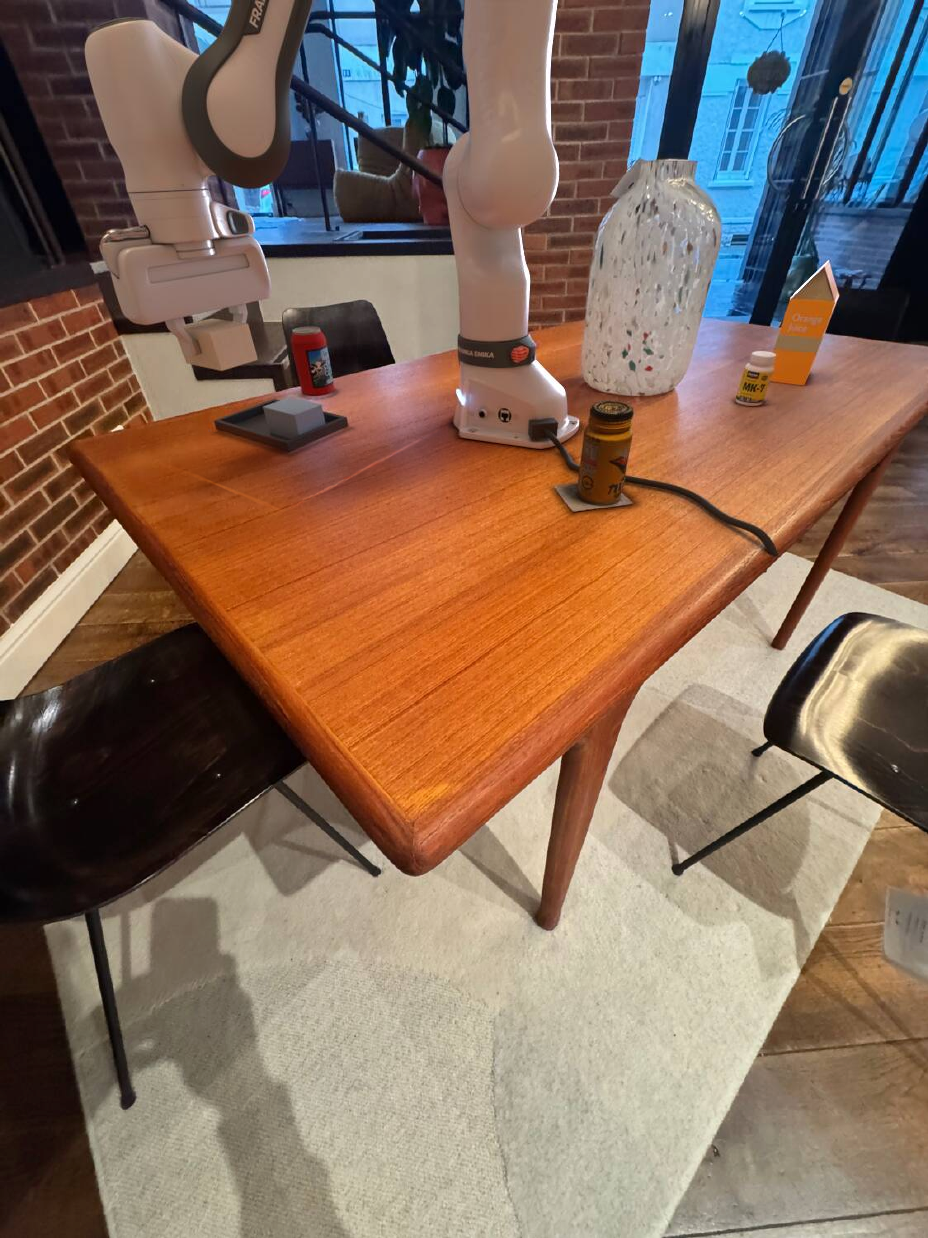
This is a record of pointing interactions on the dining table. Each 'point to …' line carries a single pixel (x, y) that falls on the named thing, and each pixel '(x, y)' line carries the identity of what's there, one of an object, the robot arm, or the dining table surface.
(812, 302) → the orange juice
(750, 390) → the supplement bottle
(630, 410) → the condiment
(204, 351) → the beige block
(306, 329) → the beverage can
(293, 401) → the blue gray block
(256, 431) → the tray
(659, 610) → the dining table surface
